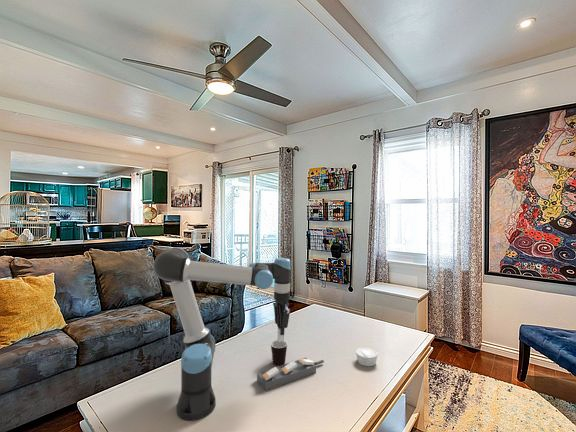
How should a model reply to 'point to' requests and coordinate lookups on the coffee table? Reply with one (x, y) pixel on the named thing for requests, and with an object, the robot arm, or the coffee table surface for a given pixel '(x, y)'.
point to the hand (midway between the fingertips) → (280, 340)
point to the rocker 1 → (270, 373)
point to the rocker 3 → (306, 361)
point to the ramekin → (366, 356)
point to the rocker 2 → (289, 367)
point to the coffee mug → (278, 352)
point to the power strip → (287, 375)
